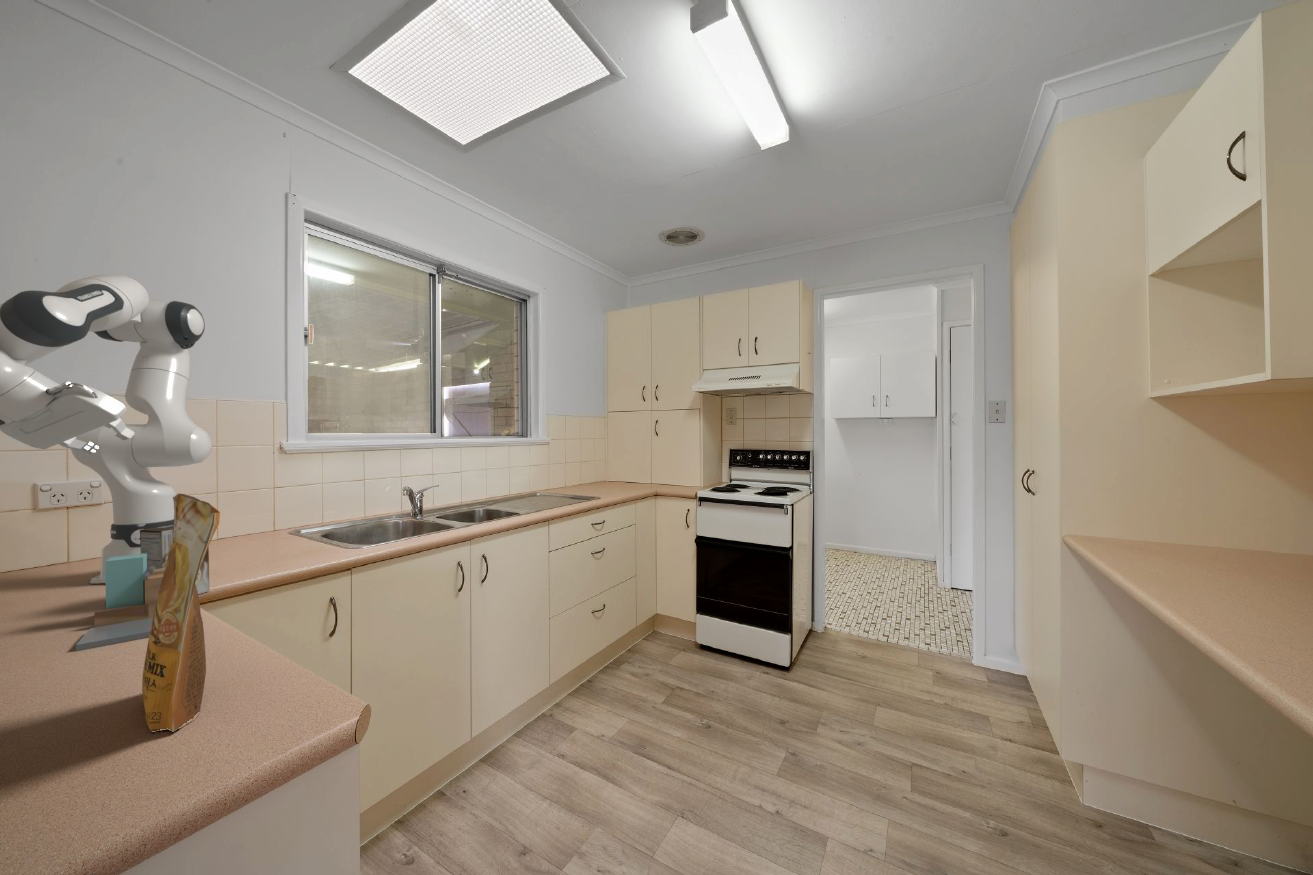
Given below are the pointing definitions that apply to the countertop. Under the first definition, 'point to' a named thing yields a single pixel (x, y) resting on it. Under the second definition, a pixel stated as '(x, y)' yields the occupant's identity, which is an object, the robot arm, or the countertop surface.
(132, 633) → the pad
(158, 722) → the pancake mix bag
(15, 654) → the countertop surface
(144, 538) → the coffee box
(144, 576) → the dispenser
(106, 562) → the tall teal pillar
